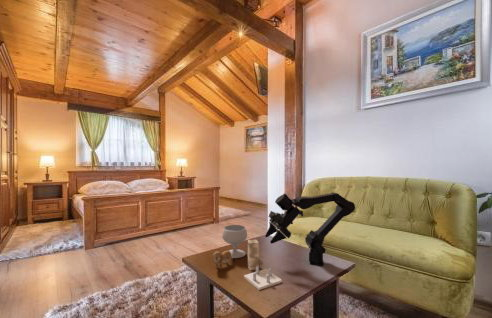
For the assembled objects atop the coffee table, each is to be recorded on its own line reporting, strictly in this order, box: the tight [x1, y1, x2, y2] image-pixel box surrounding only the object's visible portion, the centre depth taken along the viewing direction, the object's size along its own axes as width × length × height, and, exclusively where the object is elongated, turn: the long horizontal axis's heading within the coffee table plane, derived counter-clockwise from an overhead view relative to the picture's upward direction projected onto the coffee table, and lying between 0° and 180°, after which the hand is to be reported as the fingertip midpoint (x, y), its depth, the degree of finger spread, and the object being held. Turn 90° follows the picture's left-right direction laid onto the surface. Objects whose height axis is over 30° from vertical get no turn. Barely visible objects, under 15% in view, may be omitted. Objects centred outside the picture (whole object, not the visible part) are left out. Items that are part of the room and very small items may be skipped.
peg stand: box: [243, 266, 283, 291], centre depth 103 cm, size 12×12×4 cm
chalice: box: [221, 224, 248, 259], centre depth 132 cm, size 14×14×15 cm
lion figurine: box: [212, 249, 234, 270], centre depth 117 cm, size 15×5×9 cm, turn 151°
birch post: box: [247, 239, 260, 271], centre depth 115 cm, size 4×4×13 cm
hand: (268, 239), depth 117 cm, fingers open, 9 cm apart
